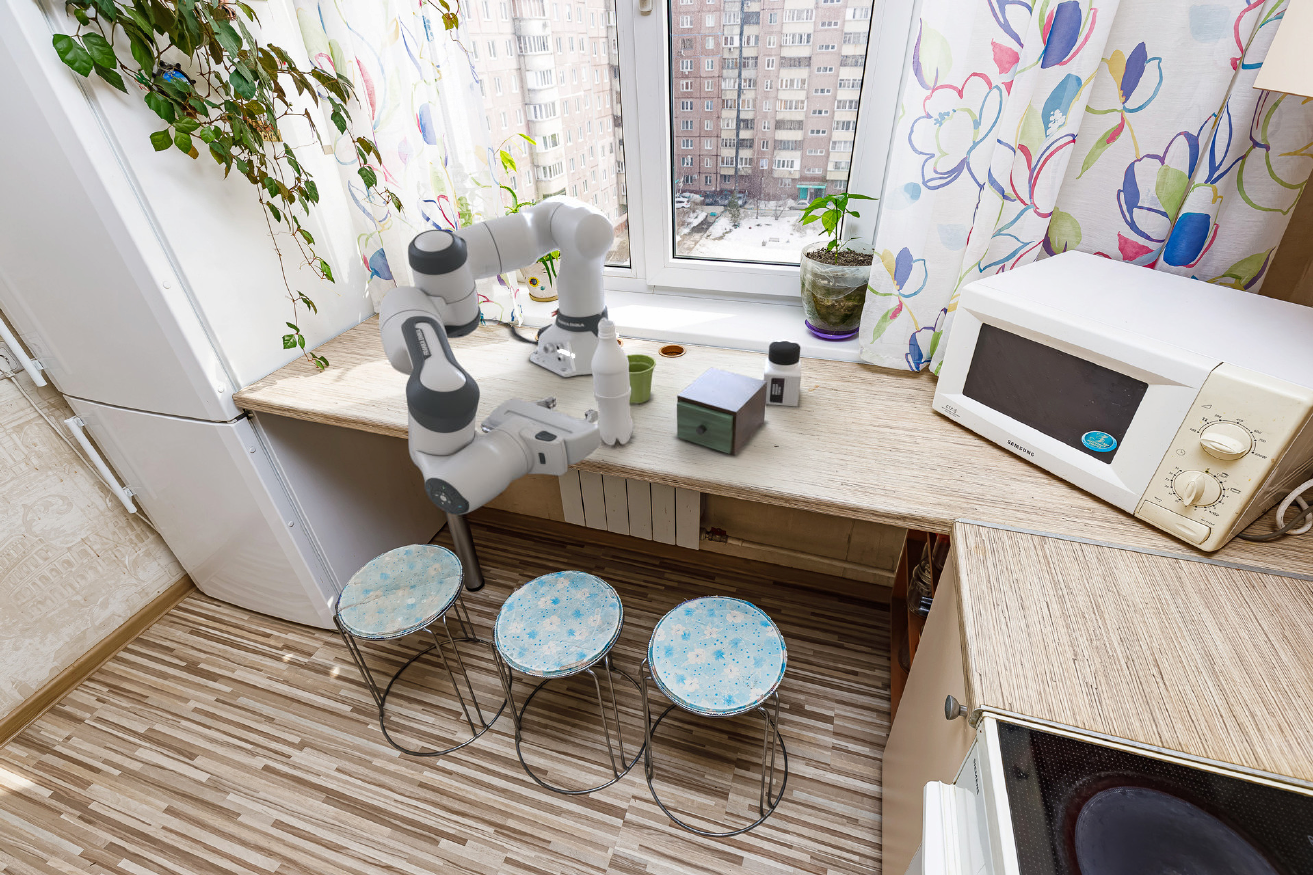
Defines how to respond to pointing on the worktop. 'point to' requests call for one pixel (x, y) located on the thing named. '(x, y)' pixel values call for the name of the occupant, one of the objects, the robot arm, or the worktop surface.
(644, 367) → the plant pot
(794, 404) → the container
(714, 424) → the drawer
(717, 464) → the worktop surface
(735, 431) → the cabinet
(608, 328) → the water bottle
